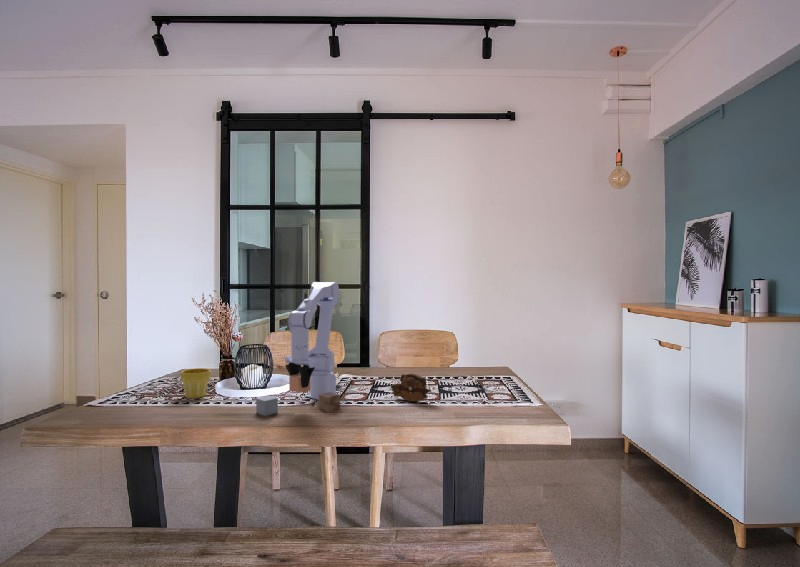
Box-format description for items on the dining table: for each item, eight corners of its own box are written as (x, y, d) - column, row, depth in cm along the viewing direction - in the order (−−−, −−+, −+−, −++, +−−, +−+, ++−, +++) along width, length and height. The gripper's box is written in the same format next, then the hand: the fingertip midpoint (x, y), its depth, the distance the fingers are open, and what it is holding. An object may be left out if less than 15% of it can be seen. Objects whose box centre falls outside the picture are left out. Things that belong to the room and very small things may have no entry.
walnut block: (330, 406, 162) (330, 391, 162) (339, 408, 158) (339, 394, 158) (319, 409, 158) (319, 394, 158) (328, 411, 155) (328, 397, 154)
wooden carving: (388, 399, 170) (388, 373, 170) (394, 397, 174) (394, 370, 174) (428, 405, 162) (428, 377, 162) (433, 402, 166) (433, 375, 166)
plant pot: (215, 393, 179) (215, 368, 179) (201, 400, 169) (201, 373, 168) (190, 392, 180) (190, 367, 180) (175, 399, 170) (175, 373, 169)
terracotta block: (301, 387, 159) (301, 373, 159) (310, 389, 156) (310, 375, 156) (289, 390, 156) (289, 375, 156) (298, 392, 152) (298, 377, 152)
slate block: (269, 409, 157) (269, 395, 157) (277, 412, 153) (277, 398, 153) (256, 413, 153) (256, 398, 153) (264, 416, 150) (264, 401, 150)
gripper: (277, 345, 157) (277, 384, 158) (303, 349, 148) (303, 391, 148) (294, 343, 163) (294, 381, 163) (320, 347, 153) (320, 387, 153)
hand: (300, 385), depth 156 cm, fingers closed on terracotta block, 5 cm apart
